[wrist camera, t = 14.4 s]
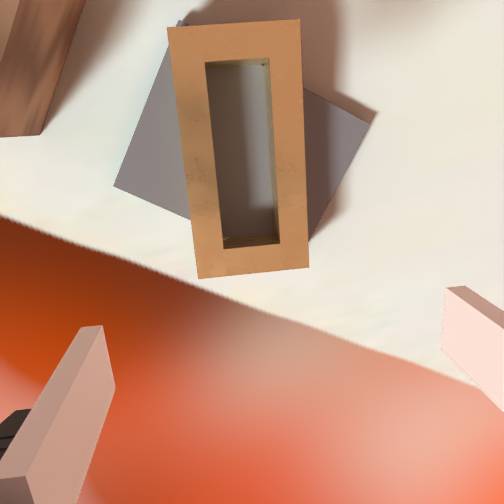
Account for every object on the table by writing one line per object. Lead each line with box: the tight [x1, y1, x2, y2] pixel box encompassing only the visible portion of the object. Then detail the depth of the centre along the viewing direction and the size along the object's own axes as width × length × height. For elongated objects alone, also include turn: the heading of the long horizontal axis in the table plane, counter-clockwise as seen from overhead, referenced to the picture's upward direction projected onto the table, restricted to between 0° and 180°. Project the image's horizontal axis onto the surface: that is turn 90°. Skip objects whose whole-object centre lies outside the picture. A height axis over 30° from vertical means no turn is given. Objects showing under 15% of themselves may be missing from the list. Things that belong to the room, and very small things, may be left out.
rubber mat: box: [113, 20, 370, 241], centre depth 30 cm, size 12×15×1 cm
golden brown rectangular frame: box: [167, 19, 309, 279], centre depth 28 cm, size 8×16×3 cm, turn 4°
